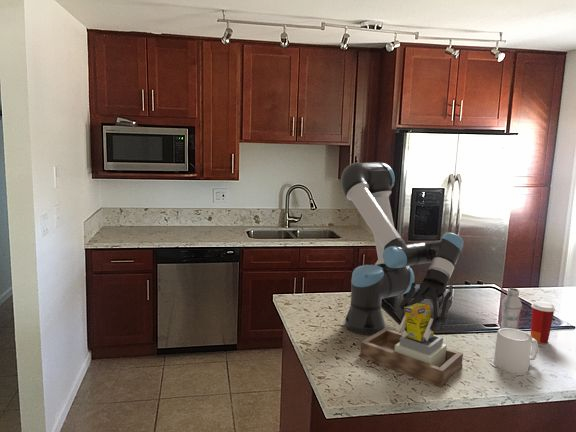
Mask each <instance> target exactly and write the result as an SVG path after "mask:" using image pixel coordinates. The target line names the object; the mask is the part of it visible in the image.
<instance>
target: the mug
mask: <svg viewBox="0 0 576 432" xmlns="http://www.w3.org/2000/svg"><path fill="white" fill-rule="evenodd" d="M538 353H539V343H537V340H535V339H534V338H532V336H531V334H529V333H528V332H526V331H523V330H520V329H518V330H517V329H511V328H502V329H500V328H499V329H497V332H496V340H495V349H494V358H493V364H494V365H495V367H497V368H499V369H500V370H502V371H505V372H509V373H512V374H513V373H514V374H523V373H527V372H528V371H529V366H530V361H534V360H536V358H537V356H538Z"/></svg>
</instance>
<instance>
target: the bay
mask: <svg viewBox="0 0 576 432" xmlns="http://www.w3.org/2000/svg"><path fill="white" fill-rule="evenodd" d="M405 334H406V333H402V332H399V331H396V330H392V329H390V328H386V327H385V328H384V329H383V330H381V331H379V332H377V333H376V334H371V336H369V337H367V338H365V339H363V340H361V342H360V352H359V357H360V358H362V359H363V360H364V359H365V360H367V361H370V362H373V363H375V364H378V365H381V366H383V367H385V368H388V369H390V370H394V371H396V372H399V373H401V374H404V375H406V376H409V377H412V378H414V379H417V380H419V381H421V382H424V383H426V384H430V385H431V386H432V385H433V386H434V387H438V388H442V387H443V386H444V385H445V384H446V383H447V382H448V381H449V380H450V379H451V378H452V377H454V375H456V374H457V373H458V372H459V371H460V370H461V369H462V368H463V358H464V353H463V352H462V351H461V352H460V351H457V350H454V349H452V348H449V347H446V358H445V362H444V363H443V364H442V365H441V366H439V367H437V366H434V365H431V364H428V363H425V362H423V361H420V360H417V359H414V358H411V357H409V356H406V355H403V354H400V353H397V352H395V345H396V344H397V343H399V342H400V337H402V336H403V335H405Z"/></svg>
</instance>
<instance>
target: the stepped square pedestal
mask: <svg viewBox="0 0 576 432" xmlns="http://www.w3.org/2000/svg"><path fill="white" fill-rule="evenodd" d="M404 334H405V335H403V336H402V337H400V342H399V343H397V344H396V345H395V352H397V353H400V354H403V355H406V356H409V357H411V358H414V359H417V360H420V361H423V362H425V363H428V364H431V365H434V366H437V367H439V366H441V365H442V364H443V363H444V362H445V358H446V348H448V347H447V344H445V343H443V342H444V337H443V336H439V335H436V334H434V339H431V340H429V341H426V342H423V343H419V342H416V341H413V340H410V339H408V335H407V332H406V333H404Z"/></svg>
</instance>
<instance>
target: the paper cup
mask: <svg viewBox="0 0 576 432" xmlns="http://www.w3.org/2000/svg"><path fill="white" fill-rule="evenodd" d="M530 307H531V320H530V321H531V325H530V335H531V336H532V338H534V339H535V340H537V344H543V345H545V344H548V342H549V338H550V333H551V328H552V323H553V319H554V313H555V312H556V308H555V305H554V304H553V303H550V302H547V301H540V300H536V301H533V302H532V303H531V305H530Z"/></svg>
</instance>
